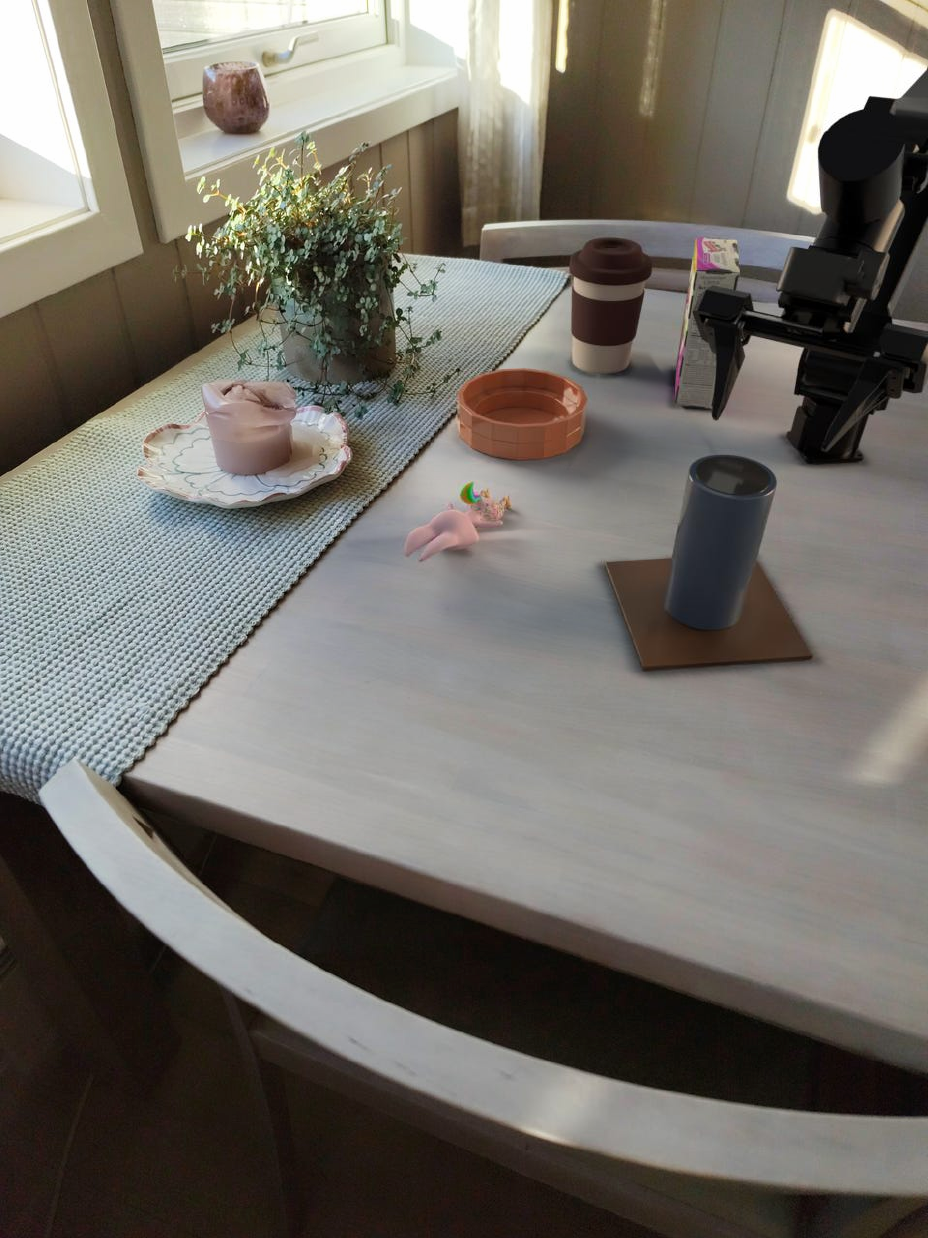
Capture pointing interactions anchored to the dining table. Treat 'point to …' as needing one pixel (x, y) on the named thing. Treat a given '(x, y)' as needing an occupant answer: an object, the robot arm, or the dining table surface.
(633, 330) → the coffee cup
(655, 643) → the board
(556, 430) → the bowl
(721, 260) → the candy bar box
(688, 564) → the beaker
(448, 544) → the rabbit figure
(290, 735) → the dining table surface
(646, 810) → the dining table surface
